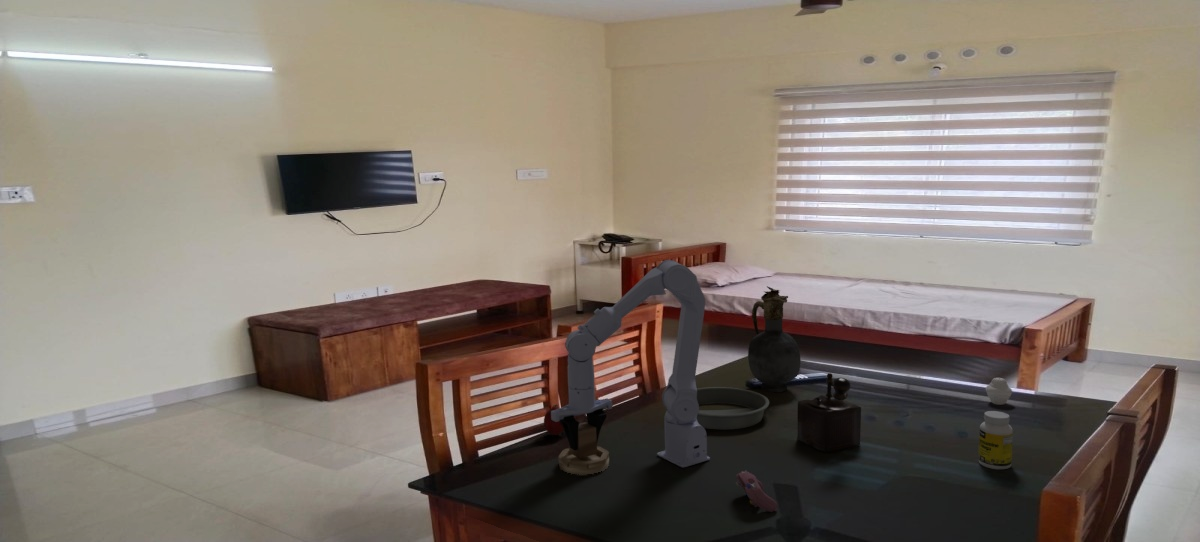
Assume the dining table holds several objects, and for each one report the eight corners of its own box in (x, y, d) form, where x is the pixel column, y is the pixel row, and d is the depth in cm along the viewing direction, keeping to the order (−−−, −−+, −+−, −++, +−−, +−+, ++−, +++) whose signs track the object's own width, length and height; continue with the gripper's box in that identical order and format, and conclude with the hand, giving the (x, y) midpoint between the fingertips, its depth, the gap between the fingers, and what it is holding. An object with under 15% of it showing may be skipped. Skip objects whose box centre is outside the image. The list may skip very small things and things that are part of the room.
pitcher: (772, 398, 206) (771, 292, 202) (738, 381, 224) (737, 283, 220) (805, 393, 209) (806, 288, 205) (769, 376, 227) (769, 280, 223)
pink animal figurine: (744, 499, 148) (728, 470, 147) (764, 488, 148) (748, 459, 147) (759, 522, 138) (742, 491, 137) (780, 510, 138) (764, 479, 137)
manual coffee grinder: (793, 439, 175) (793, 365, 172) (830, 431, 179) (831, 359, 177) (839, 462, 161) (840, 381, 158) (878, 453, 165) (879, 374, 163)
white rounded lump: (987, 398, 200) (988, 373, 200) (1013, 401, 197) (1014, 376, 196) (983, 404, 195) (984, 378, 195) (1009, 408, 192) (1010, 381, 191)
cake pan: (789, 418, 190) (789, 401, 190) (719, 440, 177) (718, 421, 176) (722, 396, 210) (722, 380, 210) (654, 414, 197) (654, 397, 196)
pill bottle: (971, 462, 158) (973, 412, 157) (992, 457, 161) (994, 407, 159) (997, 472, 153) (999, 421, 151) (1018, 467, 155) (1020, 416, 154)
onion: (564, 440, 179) (563, 408, 178) (541, 439, 180) (540, 407, 179) (570, 432, 185) (569, 401, 184) (548, 431, 186) (546, 400, 185)
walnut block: (597, 453, 163) (596, 427, 162) (579, 458, 160) (578, 431, 160) (586, 448, 166) (585, 422, 166) (569, 452, 164) (568, 426, 163)
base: (618, 467, 162) (618, 456, 161) (575, 479, 156) (575, 468, 156) (592, 452, 171) (592, 441, 171) (550, 463, 165) (549, 452, 165)
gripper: (599, 376, 168) (601, 433, 170) (543, 387, 161) (545, 448, 162) (616, 383, 162) (618, 442, 164) (559, 395, 155) (561, 457, 156)
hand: (583, 446), depth 163 cm, fingers closed on walnut block, 4 cm apart
